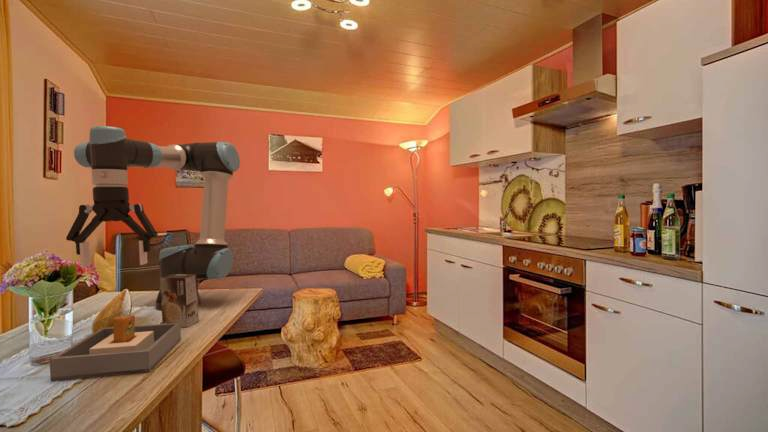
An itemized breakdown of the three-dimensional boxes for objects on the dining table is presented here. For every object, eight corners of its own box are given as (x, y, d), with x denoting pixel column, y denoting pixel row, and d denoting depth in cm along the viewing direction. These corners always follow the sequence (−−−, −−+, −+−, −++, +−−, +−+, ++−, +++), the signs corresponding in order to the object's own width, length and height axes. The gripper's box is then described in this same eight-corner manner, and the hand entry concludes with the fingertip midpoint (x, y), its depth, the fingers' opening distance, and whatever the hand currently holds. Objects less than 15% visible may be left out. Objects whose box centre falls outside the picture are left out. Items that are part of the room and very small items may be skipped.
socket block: (112, 348, 95) (112, 333, 94) (154, 345, 97) (153, 330, 96) (89, 365, 85) (89, 349, 85) (136, 361, 87) (135, 345, 87)
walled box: (102, 345, 98) (102, 328, 98) (180, 339, 102) (180, 322, 102) (50, 381, 79) (49, 359, 79) (149, 372, 83) (148, 351, 83)
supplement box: (125, 357, 89) (123, 318, 88) (113, 356, 89) (111, 318, 89) (136, 352, 92) (135, 314, 92) (124, 351, 93) (123, 313, 92)
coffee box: (200, 320, 119) (198, 273, 118) (187, 327, 112) (185, 277, 112) (174, 320, 120) (173, 273, 119) (160, 326, 113) (159, 277, 113)
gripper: (44, 186, 87) (50, 271, 88) (157, 185, 92) (161, 265, 94) (64, 186, 94) (69, 265, 95) (168, 186, 100) (171, 260, 101)
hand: (115, 265), depth 95 cm, fingers open, 13 cm apart
